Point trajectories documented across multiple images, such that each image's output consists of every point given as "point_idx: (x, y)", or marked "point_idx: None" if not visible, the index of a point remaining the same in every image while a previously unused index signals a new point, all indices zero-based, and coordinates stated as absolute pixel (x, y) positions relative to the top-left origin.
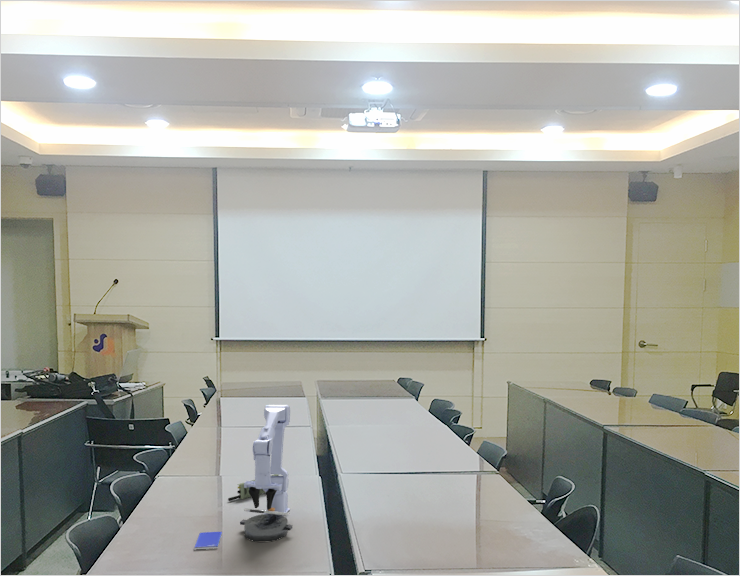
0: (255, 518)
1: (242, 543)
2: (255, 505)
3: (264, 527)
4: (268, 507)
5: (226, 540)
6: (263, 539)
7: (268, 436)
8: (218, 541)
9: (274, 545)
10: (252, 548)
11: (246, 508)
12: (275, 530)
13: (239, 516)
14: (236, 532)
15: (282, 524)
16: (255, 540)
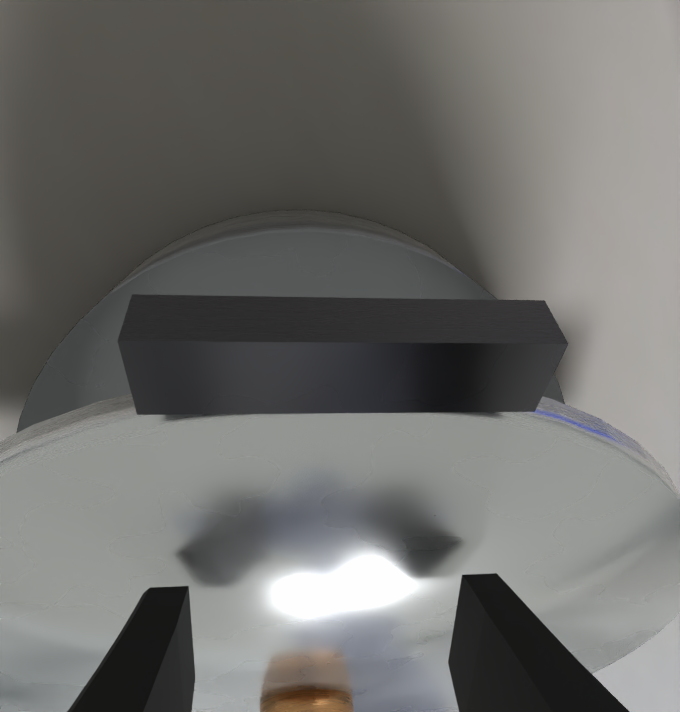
0: None
1: (455, 128)
2: (502, 615)
3: None
4: (132, 624)
5: (663, 162)
6: (217, 225)
7: None
8: None
9: (42, 168)
10: (274, 11)
11: (660, 627)
12: (63, 340)
13: (662, 645)
14: (605, 371)
15: None
16: (322, 214)
